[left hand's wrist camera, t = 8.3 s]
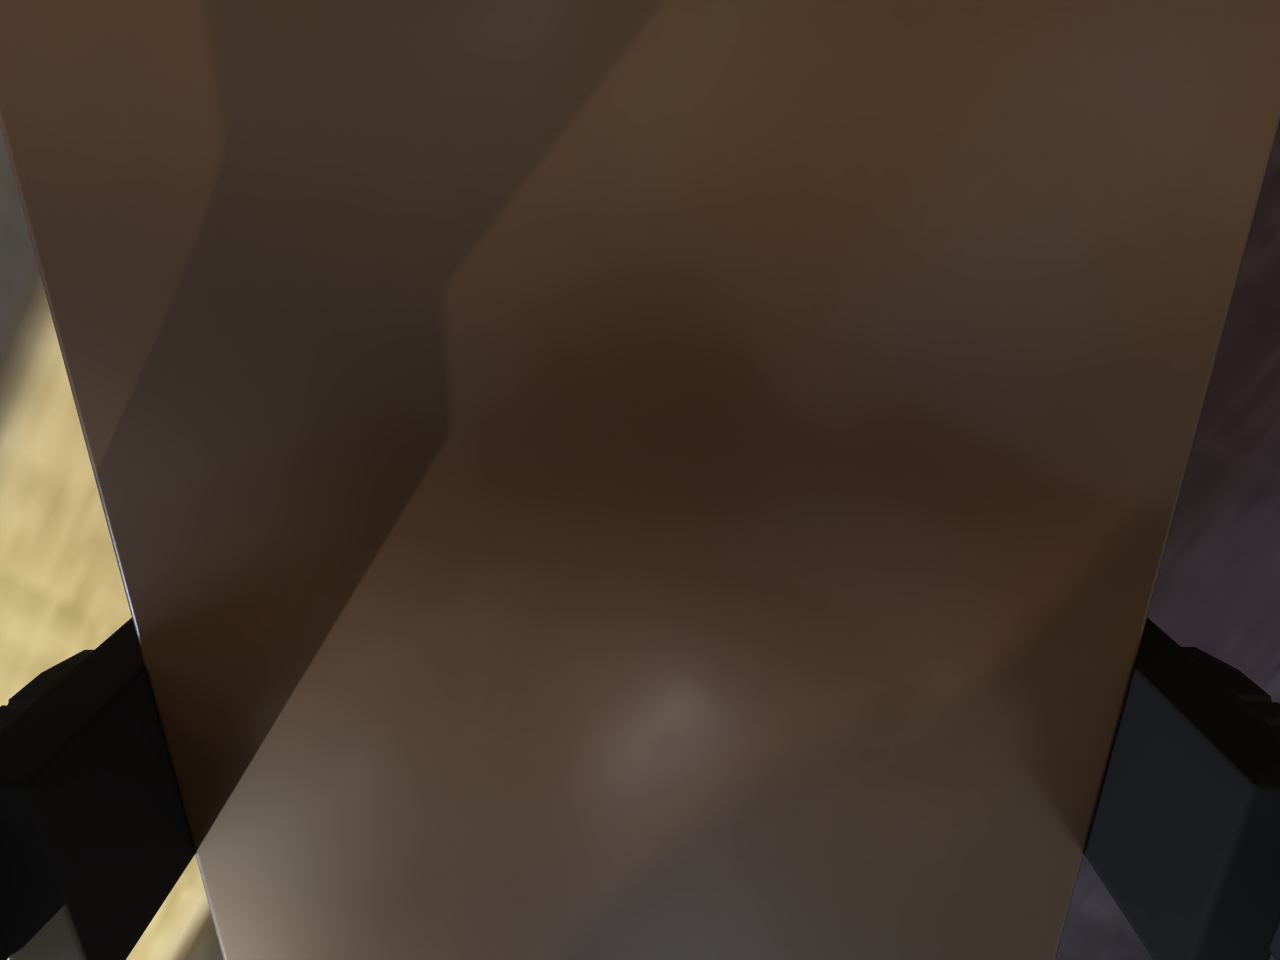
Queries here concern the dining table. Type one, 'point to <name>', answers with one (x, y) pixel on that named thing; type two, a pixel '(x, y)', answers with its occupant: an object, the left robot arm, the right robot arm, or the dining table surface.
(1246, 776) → the left robot arm
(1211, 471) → the dining table surface
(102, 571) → the dining table surface
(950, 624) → the cabinet
